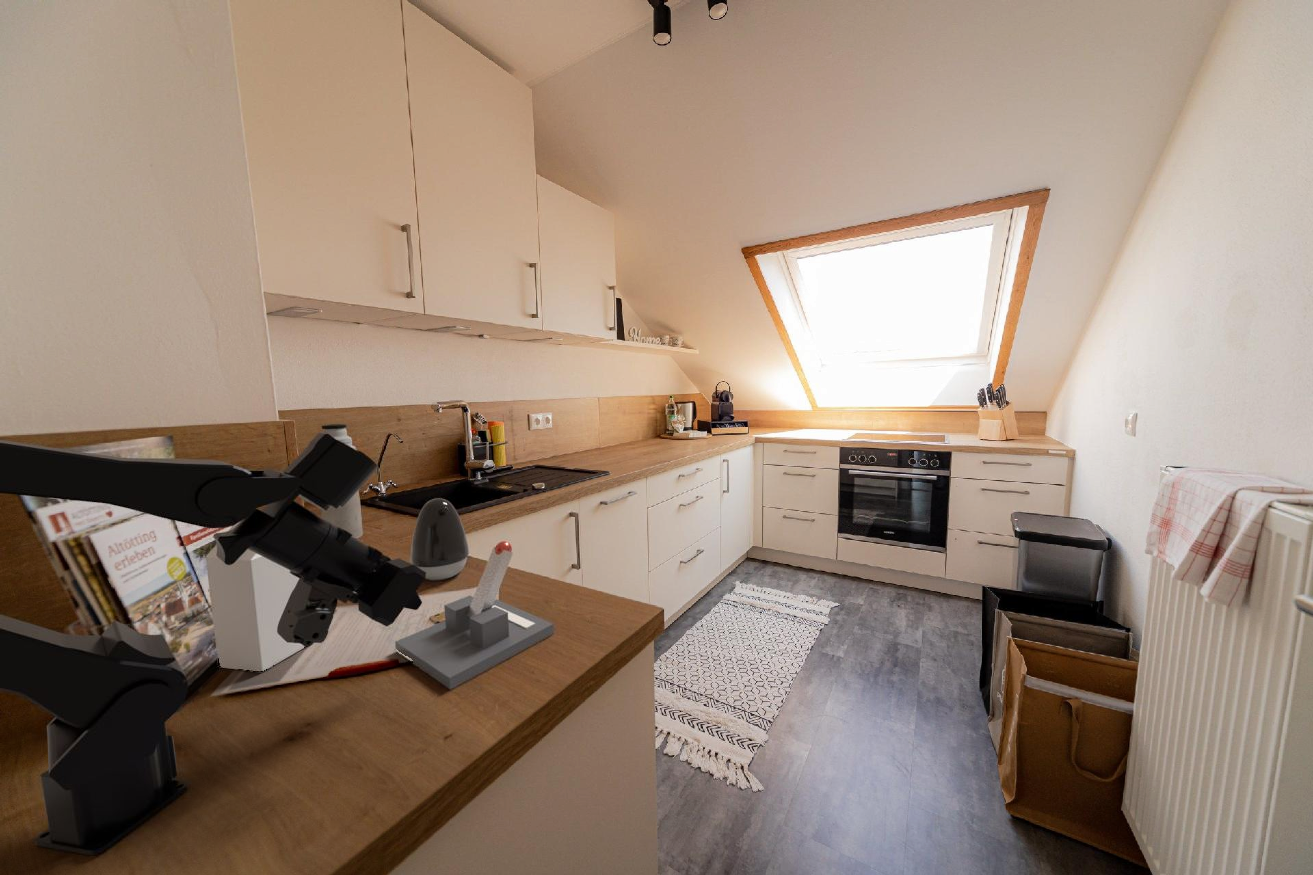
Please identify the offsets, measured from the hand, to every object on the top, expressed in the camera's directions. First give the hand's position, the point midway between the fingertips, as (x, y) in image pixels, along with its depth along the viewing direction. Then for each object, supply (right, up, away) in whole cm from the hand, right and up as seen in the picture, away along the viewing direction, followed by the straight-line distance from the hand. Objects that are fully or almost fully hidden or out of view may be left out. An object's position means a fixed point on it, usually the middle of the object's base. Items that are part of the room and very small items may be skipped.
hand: (418, 605), depth 60 cm
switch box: (+5, -8, +7) cm, 12 cm away
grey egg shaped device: (-11, -6, +32) cm, 34 cm away
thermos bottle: (-47, -4, +57) cm, 74 cm away
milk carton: (-23, -9, +5) cm, 25 cm away
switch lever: (+5, -4, +7) cm, 9 cm away
